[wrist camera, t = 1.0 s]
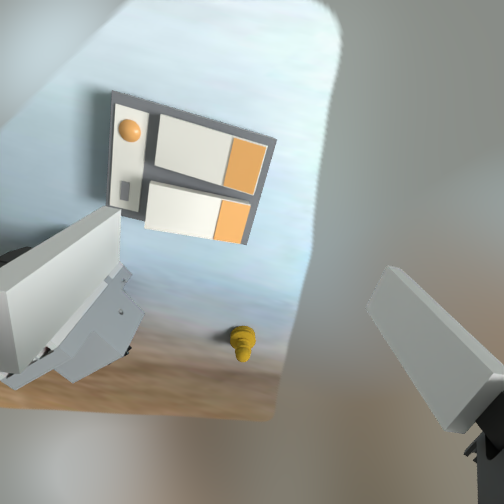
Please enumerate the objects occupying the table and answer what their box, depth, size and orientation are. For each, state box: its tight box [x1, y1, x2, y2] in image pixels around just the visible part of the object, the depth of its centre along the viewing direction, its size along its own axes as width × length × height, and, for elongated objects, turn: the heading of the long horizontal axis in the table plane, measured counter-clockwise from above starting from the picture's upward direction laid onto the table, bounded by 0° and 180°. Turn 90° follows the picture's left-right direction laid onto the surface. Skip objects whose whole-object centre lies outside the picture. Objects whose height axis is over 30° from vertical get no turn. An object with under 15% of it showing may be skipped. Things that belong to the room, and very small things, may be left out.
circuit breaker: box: [0, 261, 145, 390], centre depth 32 cm, size 8×14×15 cm, turn 31°
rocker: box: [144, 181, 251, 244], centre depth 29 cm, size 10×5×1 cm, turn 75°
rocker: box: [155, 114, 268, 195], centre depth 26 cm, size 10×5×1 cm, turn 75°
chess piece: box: [230, 326, 256, 362], centre depth 41 cm, size 4×4×5 cm
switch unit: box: [106, 90, 277, 245], centre depth 30 cm, size 16×12×5 cm
